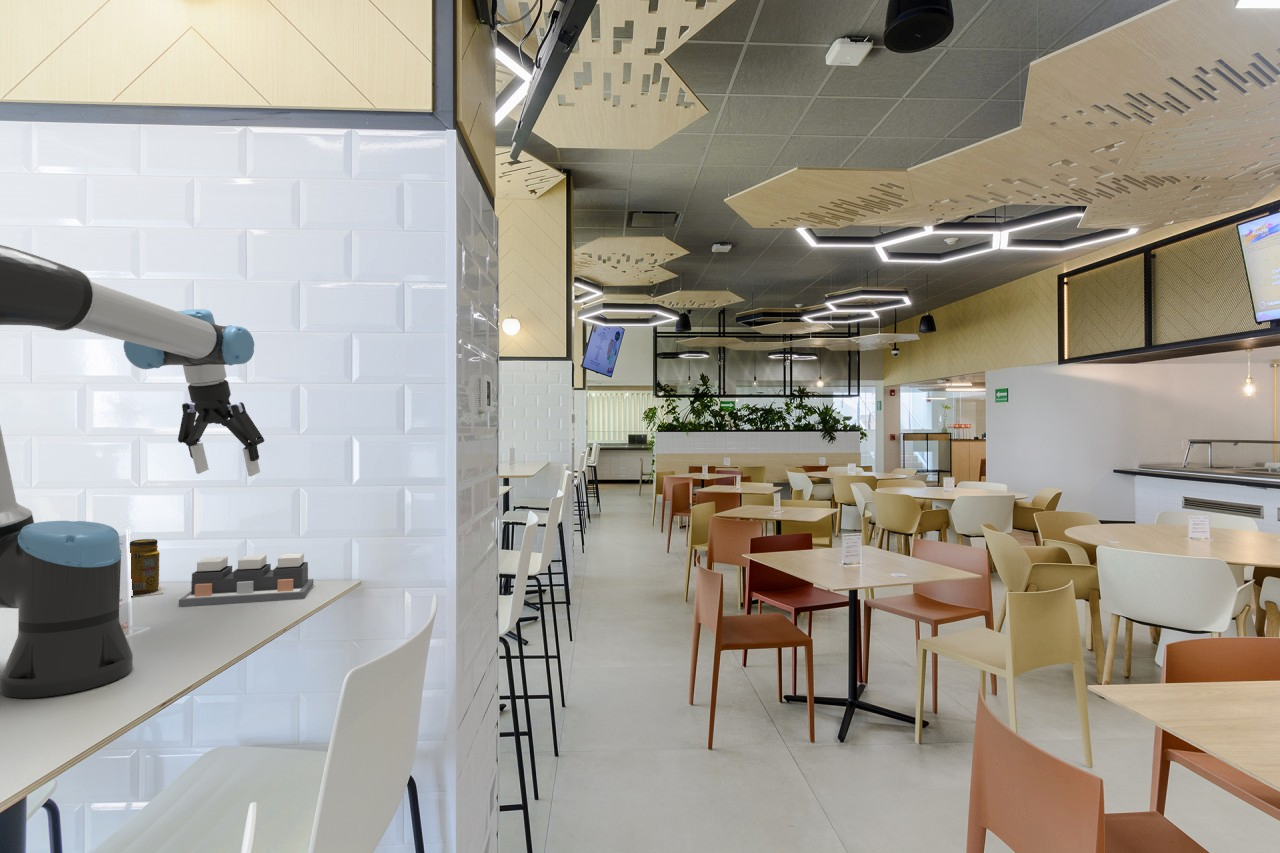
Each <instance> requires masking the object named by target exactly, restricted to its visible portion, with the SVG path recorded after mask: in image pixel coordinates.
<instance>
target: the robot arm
mask: <svg viewBox="0 0 1280 853" xmlns="http://www.w3.org/2000/svg"><path fill="white" fill-rule="evenodd" d="M0 326H33V327H42V328H47V329H51V330H55V331H60V332H61V331H62V332H63V331H70V330H73V329H78V330H82V331H86V332H90V333H94V334H98V335H101V336H105V337H110V338H112V339H118V340H121V341H123V351H124V355H125V356H126V358H127V360H128V362H130V363H131V364H132V365H133V366H135V367H136V368H139V369H141V370H151V369H159V368H161V367H165V366H182V367H183V372H184V376H185V383H187V384H189V385H188V386H187V390H188V394H189V397H190V401H188V402H185V403H183V404H181V408H182V418H181V423H180V427H179V432H178V437H177V441H178V443H180V444H185V445H186V446H187V447H188V450H189V456H190V458H191V459H193V460H192V461H193V465H194V469H195V473H196V474H197V475H199V474H203V473H204V472H206V471H208V470H209V469H210V468H209V464H208V460H207V456H206V452H205V447H204V444H203V442H201V441H202V440H201V438H202V436H203V434H204V432H205V430H206V429H207V427H208V425H211V424H215V425H222V427H226V428H227V429H228V430H229V431H230V432H231V433H232V434H233V436H235V437H236V438H237V439H238V441H239V442H240V443H241V444H242V445H243V446H244V447H243V448H242V452H243V457H244V462H245V465H246V466H245V467H246V470H247V475H248V477H253V476H255V475H257V474H259V473H261V470H260V469H261V468H260V466H259V465H260V464H259V461H258V460H260V455H259V451H258V450H259V449H258V445H260V444H262V443H264V442H265V438H264V437H263V435H262V434H261V432H260V431H259V429H258V428H257V426H256V425H255V423H254V421H253V420H252V418H251V417H250V415H249V414H248V412H247V409H246V407H245V404H244V402H242V401H241V402H237V403H231V402H230V397H231V395H232V394H231V388H230V384H229V380H228V381H227V379H226V378H227V372H226V367H225V365H226V366H227V365H228V366H233V365H244V364H246V363H248V362H250V360H252V357H253V356H254V354H255V341H254V337H253V335H252V334H251V332H250V331H249V330H248V329H247V328H245V327H242V326H238V325H229V324H228V325H225V326H224V325H219V324H216V321H215V318H214V315H213V313H212V311H211V310H208V309H205V308H204V309H203V308H201V309H199V308H197V309H195V308H194V309H184V310H174V309H171V308H168V307H165V306H162V305H159V304H156V303H154V302H151V301H147V300H145V299H142V298H139V297H136V296H134V295H130V294H127V293H124V292H122V291H119V290H116V289H113V288H110V287H107V286H104V285H102V284H98V283H95V282H92V281H91V279H90V278H89V276H88V275H87V274H85V273H84V272H82V271H80V270H78V269H76V268H72V267H69V266H67V265H65V264H62V263H58V262H57V261H53V260H50V259H48V258H44V257H41V256H39V255H37V254H33V253H30V252H26V251H23V250H20V249H17V248H13V247H10V246H6V245H2V244H0ZM4 441H5V440H4V436H3V433H2V427H1V425H0V609H3V608H4V609H18V613H17V614H18V618H17V620H18V623H17V624H18V629H17V630H18V631H17V638H16V640H15V642H14V645H13V647H12V648H11V649H12V650H11V652H10V654H9V657H8V659H7V661H6V664H5V667H4V669H3V671H2V674H1V677H0V693H1V694H2V695H3V696H5V697H9V698H17V699H18V698H19V699H29V698H30V699H32V698H33V699H34V698H46V697H53V696H61V695H67V694H71V693H77V692H80V691H81V692H82V691H85V690H89V689H93V688H94V689H95V688H97V687H100V686H103V685H107V684H109V683H112V682H114V681H117V680H119V679H121V678H123V677H126V676H127V675H128V674H130V673H131V672H132V671H133V669H134V666H133V665H134V664H133V662H134V661H133V660H134V657H133V656H134V655H133V651H132V649H131V646H130V645H129V642H128V640H127V637H126V634H125V632H124V630H123V627H122V625H121V623H120V622H121V621H120V596H121V595H120V594H121V593H120V592H121V569H122V568H121V565H122V550H121V546H120V534H119V532H118V531H117V530H116V529H115V528H114V527H113V526H111V525H109V524H105V523H100V522H93V521H87V520H86V521H85V520H75V521H74V520H49V521H47V520H46V521H40V522H35V521H34V516H33V512H32V510H31V509H30V508H28V507H25V506H23V505H21V504H19V503H18V502H17V499H16V494H15V489H14V485H13V480H12V479H13V478H12V475H11V472H10V466H9V461H8V460H9V459H8V456H7V452H6V446H5V442H4Z"/></svg>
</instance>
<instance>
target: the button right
mask: <svg viewBox="0 0 1280 853" xmlns="http://www.w3.org/2000/svg"><path fill="white" fill-rule="evenodd" d="M303 562H305V552H303V553H296V552H295V553H283V554H282V555H280V556H279V557H278V558H277V566H278V567H296V566H300V565H301V564H302V563H303Z"/></svg>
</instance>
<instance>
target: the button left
mask: <svg viewBox="0 0 1280 853" xmlns="http://www.w3.org/2000/svg"><path fill="white" fill-rule="evenodd" d="M228 559H229V557H228V556H213V557H212V556H210V557H208V556H207V557H204V558H202V559H201V560H199V561H197V562H196V571H217V570H221V569H223V568H224V567H226V566H229V564H228V563H229V562H228Z"/></svg>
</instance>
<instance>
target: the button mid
mask: <svg viewBox="0 0 1280 853" xmlns="http://www.w3.org/2000/svg"><path fill="white" fill-rule="evenodd" d="M265 564H267V554H255V555H253V554H252V555H244V556H242V557H241V558H239V559H238V560H237V569H257V568H261V567H263V566H264V565H265Z"/></svg>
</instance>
